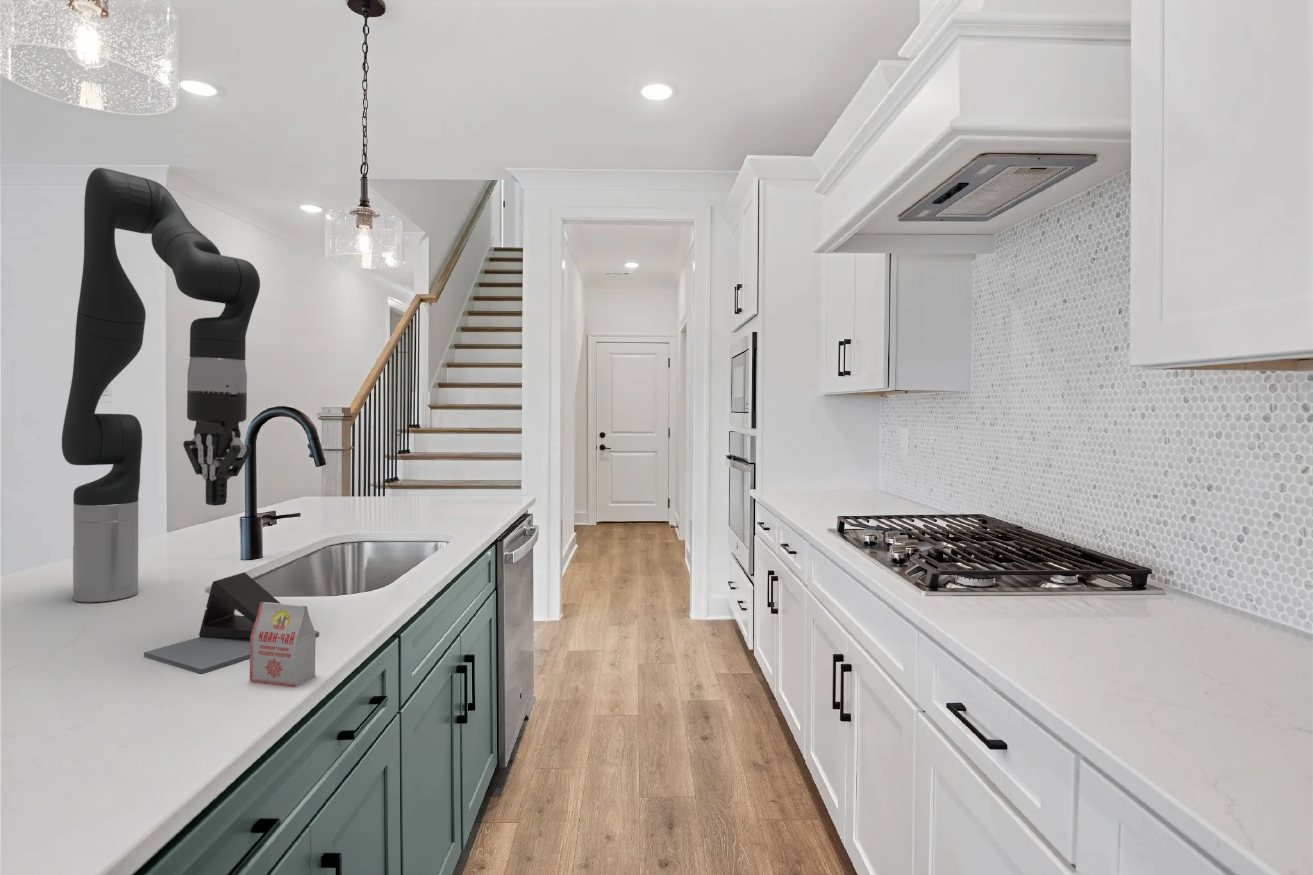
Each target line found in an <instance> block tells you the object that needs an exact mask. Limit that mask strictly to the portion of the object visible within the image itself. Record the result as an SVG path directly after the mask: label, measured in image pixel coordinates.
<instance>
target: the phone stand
mask: <svg viewBox="0 0 1313 875" xmlns="http://www.w3.org/2000/svg"><path fill="white" fill-rule="evenodd" d="M262 602H269V603H279V604H282V603H281V602H280V601H279V600H277V599H276V598H275V597H274V596H273V595H272V594H270V592H268V591H267V590H266V589H265V588H264V587H263V586H261V585H260V584H259V583H258V582H257V581H255V580H254V579H253V578H252V577H251V576H250V575H249V574H248V573H247V572H240V573H238V574H233V575H231V576H227V577H224V578H220V579H217V580H214V581H212V583H211V587H210V591H209V595H208V599H207V602H206V606H205V608H206V609H204V614H203V618H202V622H201V625H200V629H199V634H198V637H234V638H250V636H251V633H252V630H253V627H254V624H255V620H256V617H257V614H258V610H259V604H260V603H262ZM235 611H237V612H239V613H240V614H241V615H238V614H235Z"/></svg>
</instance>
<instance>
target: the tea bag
mask: <svg viewBox="0 0 1313 875" xmlns="http://www.w3.org/2000/svg"><path fill="white" fill-rule="evenodd" d="M308 610H309V609H308V606H307V605H300V604H289V603H281V604H279V603H269V602H262V603H260V604H259V610H258V614H257V617H256V620H255V624H254V627H253V630H252V633H251V636H250V658H249V683H256V684H257V683H258V684H264V685H265V684H266V685H272V686H273V685H274V686H281V687H291V688H298V687H299V686H301V685H302V684H304V683H306V682H308V681H310V680H312V679H313V678H315V677H316V638H317V637H316V633H315V631H316V630H315V627H314V625H313V622H312V620H311V618H310V614H309V611H308Z"/></svg>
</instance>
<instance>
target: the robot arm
mask: <svg viewBox="0 0 1313 875" xmlns="http://www.w3.org/2000/svg"><path fill="white" fill-rule="evenodd" d="M85 184H86V185H85V191H84V205H83V208H84V209H83V210H84V211H83V212H84V213H83V215H84V217H83V230H84V232H83V242H84V243H83V263H82V264H83V265H82V274H81V284H80V291H79V297H78V298H79V299H78V304H77V305H78V306H77V313H76V324H75V338H74V356H73V365H72V366H73V368H72V377H71V383H70V387H69V388H70V389H69V394H68V398H67V399H68V400H67V404H66V410H65V415H64V420H63V426H62V427H63V428H62V432H61V433H62V434H61V450H62V455H63V458H64V460H65V462H66V463H68V464H69V465H73V466H104V465H105V466H106V465H112V467H111V469H110V471H109V472H108V473H107V474H105V475H103V476H102V477H100V478H98V479H95V480H93V481H91V482H87V483H84V484H82V485H78V486H77V487H75V489H74V490H73V494H72V495H73V501H72V502H73V510H72V511H73V513H72V514H73V545H72V546H73V547H72V596H73V601H75V602H79V603H100V602H101V603H102V602H108V601H109V602H110V601H116V600H123V599H125V598H130V597H133V596H135V595H137V594H138V593H139V492H140V484H141V464H142V463H141V462H142V461H141V460H142V452H143V431H142V425H141V423H140V421H139V419H138V418H137V416H135V415H133V414H127V413H96V409H97V407H98V405H99V404H98V403H99V402H100V399H101V397H102V395H103V394H104V392H105V390H106V388H108V386H109V385H110V384H111V383H112V381H114V380H115V378H116V377H118V375H119V374H120V373H122V371H123V370H124V369H125V368H127V367H128V365H129V364H130V363H131V362H132V361H133V360H134V359H135V358H136V357H137V355H138V354H139V352H140V351H141V349H142V346H143V343H144V333H145V324H146V319H147V318H146V316H147V314H146V308H145V305H144V302H143V301H142V298H141V296H140V295H139V294H138V292H137V290H136V288H135V287H134V285H133V283H132V282H131V280H130V279H129V276H128V275H127V273H126V272H125V270H124V268H123V266H122V263H121V262H120V259H119V257H118V252H117V246H116V235H115V234H116V233H115V232H116V229H117V230H121V231H123V230H124V231H128V232H133V233H138V234H142V235H144V234H146V235H147V234H148V235H151V244H152V247H153V250H154V251H155V253H156V254H157V256H158V257H159V258H160V260H162V261H163V262H164V264H166V265H167V267H169V268H170V269H171V270H172V273H173V275H174V278H175V283H176V286H177V288H178V290H179V291H180V292H181V293H182V294H184V295H185V296H187V297H188V298H191V299H194V300H196V301H197V300H199V301H205V302H212V303H218V304H224V308H223V309H222V310H223V311H221V313H220V315H219V316H213V317H212V316H210V317H200V318H196V319H194V320H193V321H192V322H191V324H190V328H189V357H190V358H189V364H188V368H187V375H186V376H187V380H186V381H187V384H186V387H187V390H186V394H187V395H186V397H187V398H186V402H187V403H186V408H187V409H186V417H187V419H188V420H189V421H191V422H195V427H194V430H193V436H194V437H193V438H192V439H191V440H184V441H183V443H182V444H183V448H184V451H185V453H186V455H187V458H188V460H189V461H190V464H191V465H192V469H193V470H194V473H195V474H196V475H197V476H198V475H201V477H202V479H203V480H204V481H205V504H206V505H209V506H224V505H226V503H227V498H228V496H227V495H228V480H230V479H231V478H232V477H237V476H238V475H239V474H240V471H241V470H242V469H243V467H244V464H245V462H246V461H247V459H248V458H249V456H250V453H251V452H252V446H251V445H250V444H245V443H243V441H242V440H241V436H242V435H241V431H240V426H239V424H240V423H242V422H245V421H246V420H247V413H248V412H247V403H248V401H247V400H248V399H247V396H248V392H247V391H248V373H247V366H246V345H247V344H246V340H247V339H246V336H247V331H248V327H249V324H250V320H251V317H252V314H253V310H254V308H255V305H256V302H257V299H258V296H259V294H260V290H261V289H260V288H261V279H260V275H259V273H258V271H257V269H256V267H255V266H254V264H252V263H251V262H250V261H248V260H246V259H243V258H237V257H233V256H228V255H222V254H221V252H220V250H219V249H218V248H219V247H217V246H216V244H215V243H214V242H213V241H212V240H210V239H209V238H208V237H207V236H205V235H204V234H203V233H202V232H201V231H200V230H198V229H197V228H196V227H195V226H194V225H192V223H191V222H190V220H188V218H187V216H186V215H185V212H184V211H183V209H182V208H181V207H180V206H179V204H178V203H177V201H176V199H175V198H174V197H173V195H172V194H171V192H169V190H168V189H167V188H166V187H165V186H164V185H162V184H161V183H159V182H158V181H155V180H152V179H149V178H146V177H141V176H138V175H133V174H130V173H126V172H122V171H118V170H114V169H109V168H104V167H97V168H94V169H93V170H92V171H91V172H90V174H89V175H88V177H87V181H86V183H85Z"/></svg>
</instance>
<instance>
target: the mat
mask: <svg viewBox="0 0 1313 875" xmlns="http://www.w3.org/2000/svg"><path fill="white" fill-rule="evenodd" d="M315 633H316V638H317V637H319V636H320V631H316V630H315ZM143 657H144V658H148V659H151V660H154V661H158V662H160V663H163V664H168V665H170V666H175V667H178V668H180V669H185V670H188V671H192V672H194V673H197V674H198V673H199V674H201V675H203V674H205V673H209V672H212V671H215V670H218V669H221V668H223V667H228V666H230V665H233V664H236V663H240V662H243V661H245V660H250V638H234V637H200V636H198V637H194V638H190V639H187V640H184V641H179V642H176V643H173V644H169V645H166V646H162V647H158V648H154V649H151V650H148V651H144V652H143Z"/></svg>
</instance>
